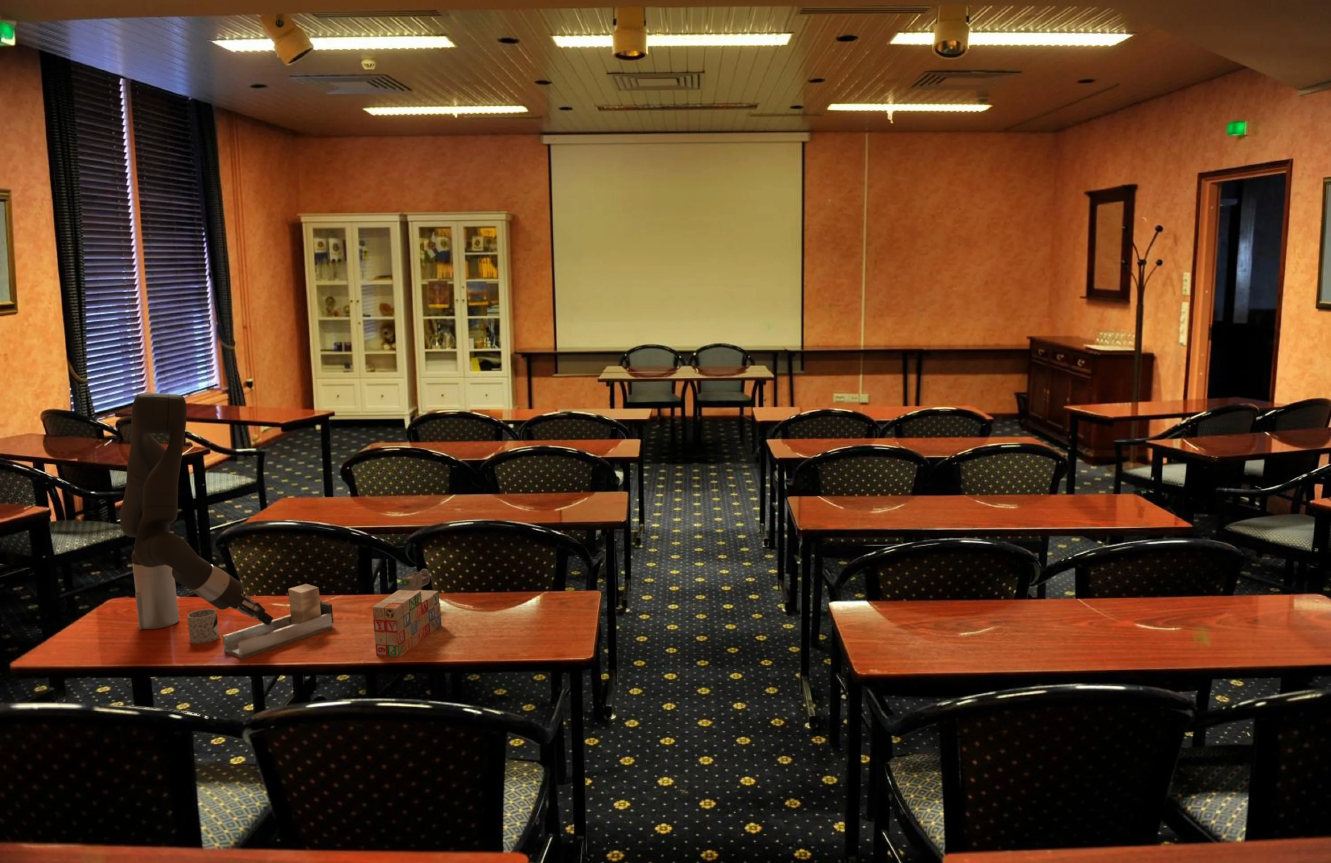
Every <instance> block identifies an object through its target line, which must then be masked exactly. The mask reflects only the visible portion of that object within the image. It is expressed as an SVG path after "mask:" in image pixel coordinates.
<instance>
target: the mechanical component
mask: <svg viewBox="0 0 1331 863" xmlns="http://www.w3.org/2000/svg"><path fill="white" fill-rule="evenodd" d="M429 570H430V569H428V568H422V569H421V570H419V571H413V572H411V573H409V574H407V575H405V576H403V577H402V578H401V583H402V590H406V591H416V590H422V588H424V586H427V585H428V584H429V583H430V579H431V578H430V571H429Z"/></svg>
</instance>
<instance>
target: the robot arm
mask: <svg viewBox="0 0 1331 863" xmlns="http://www.w3.org/2000/svg"><path fill="white" fill-rule="evenodd" d="M187 408H188V407H187V402H186V398H185V396H183V395H181V394H175V393H161V392H157V393H156V392H142V393H138V394H136V396H135V397H134V399H133V402H132V407H131V419H130V420H131V421H130V422H131V423H130V425H131V428H130V429H131V430H130V431H131V432H130V433H131V434H130V435H131V436H130V438H131V439H130V449H129V454H128V460H127V468H126V480H125V490H124V491H125V492H124V495H123V500H122V503H121V506H120V511H119V512H120V514H119V523H120V528H121V531H122V533H123V534H124V535H125V536H126V537H128V538H135V539H134V540H135V541H134V546H133V547H134V548H133V549H134V550H133V551H132V553H131V563H132V571H133V572H132V573H133V579H134V580H133V581H134V589H135V593H134V594H135V603H136V604H135V605H136V611H137V613H136V614H137V618H138V619H137V620H138V628H139V630H156V629H162V628H166V627H170V626H173V625H175V624H177V623H178V622H180V615H179V612H180V611H179V606H178V597H177V589H176V588H177V587H176V581H177V582H178V583H179V584H181V585H182V586H184V587H186V588H187V589H189V590H190V591H192V592H193V593H194V594H195V595H197V596H198V597H200V598H201V599H202V600H204V601H206V602H208V603H209V604H210V605H212V606H214V607H215V608H217V609H218V610H226V609H229V608H230V609H232V610H234V611H237V612H239V613H241V614H242V615H245V616H248V617H251V618H253V619H255V620H258V621H259V622H260V623H261V624H262V623H263V624H266V625H270V623H271V622H272V620H274V617H273V616H272V615H270V614H268V613H267V612H266V609H265V608H264V607H263V606H262V605H261V604H260V603H259V602H256V601H255V600H254V599H252V597H251V596H249V595H248V594H246V593H244V594H243V583H242V582H241V581H239V580H238V579H237V578H234V577H233V576H232V575H230V574H228V572H226V571H224V570H223V569H221V568H219V567H218V566H215V565H213V564H212V563H210V562H209V561H207V560H205V558H202V557H201V556H199V555H198V554H197V553H196V551H195V550H194V549H193V548H192V547H191V545H190V544H189V543H188V542H187V540H185V539H184V538H183V537H181V536H180V535H178V534H175V533H173V532H171V529H170V528H171V527H170V525H172V523H174V522H175V521H176V520H177V519H178V512H179V511H178V510H179V508H178V507H179V480H180V473H181V472H180V471H181V465H182V459H183V452H184V445H185V437H186V429H187V418H188V417H187V414H188V413H187V412H188V411H187V410H188V409H187ZM152 434H165V435H168V434H169V441H168V445H167V447H166V449H165V447H164V446H163V445H162V443H160V442H159V441H158V440H157V439H155V437H154V436H153V435H152Z"/></svg>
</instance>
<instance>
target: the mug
mask: <svg viewBox="0 0 1331 863" xmlns="http://www.w3.org/2000/svg"><path fill="white" fill-rule="evenodd" d="M217 613H218V611H217V610H216V609H213V608H205V609H199V610H198V609H197V610H195V611H192V612H190V613H189V612H188V613H187V615H186V616H187V626H188V627H187V629H188V636H189V642H190V643H191V644H196V645H201V644H202V645H203V644H208V643H212V642H214V641H217V640H218V639H219V638H220V630H219V621H218V614H217Z"/></svg>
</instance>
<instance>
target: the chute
mask: <svg viewBox="0 0 1331 863" xmlns="http://www.w3.org/2000/svg"><path fill="white" fill-rule="evenodd" d="M320 609H321V616H318V617H315V618H312V619H309V620H306V621H303V622H299V623H296V624H293V625H292V623H291V613H289V614H287V615H284V616H282V617H278V618H275V619H274V618H273V620H272V622H271V623H270V625H266V624H263V623H262V622H261V623H259V624H256V625H252V626H249V627H246V628H244V629H243V628H242V629H239V630H236V631H233V632H230V633H227V634H223V635H222V643H223V644H222V645H223V652H225V653H227V654H229V655H232V656H234V657H236V658H238V659H240V660H244V659H246V658H251V657H252V656H253V657H254V656H256V655H259V654H262V653H265V652H267V651H271V650H274V649H277V648H279V647H282V646H286V645H289V644H292V643H294V642H298V641H300V640H303V639H307V638H310V637H313V636H316V635H318V634H321V633H323V632H327V631H330V630H333V624H334V615H333V604H332V603H329V602H326V601H323V600H320Z"/></svg>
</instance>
